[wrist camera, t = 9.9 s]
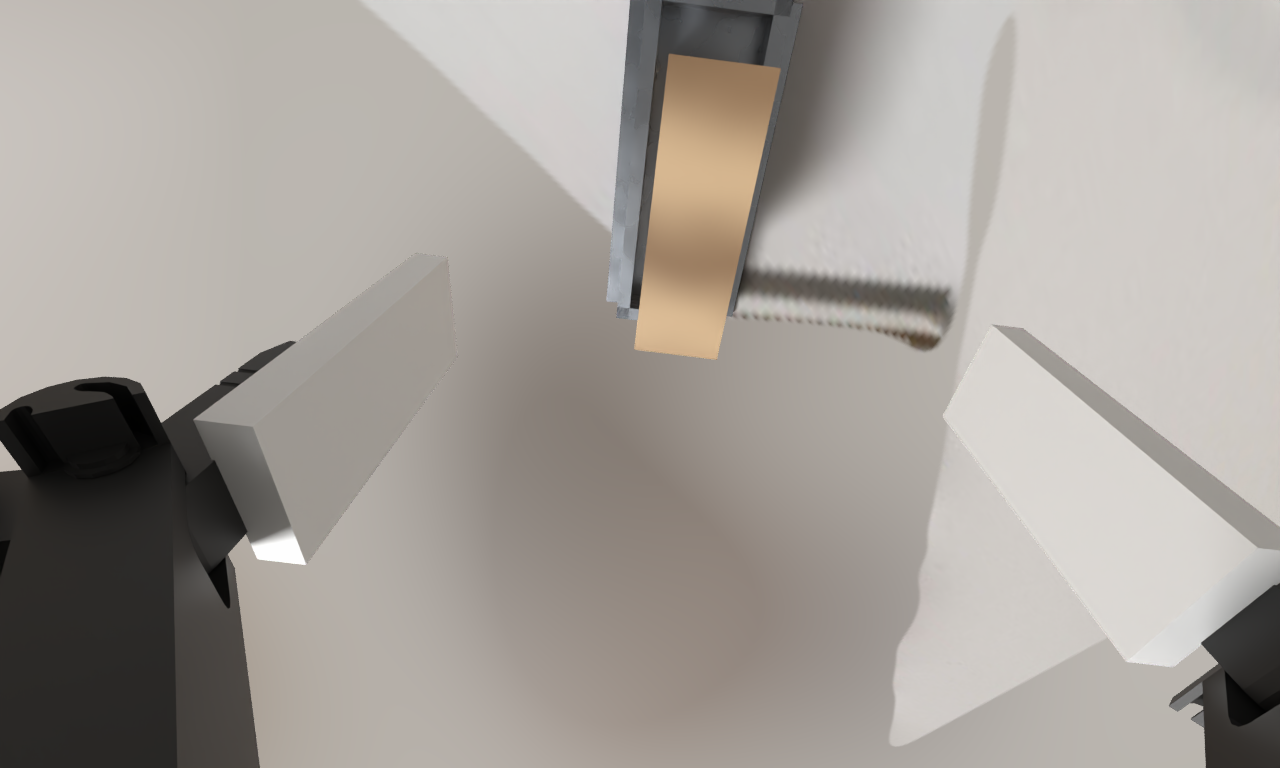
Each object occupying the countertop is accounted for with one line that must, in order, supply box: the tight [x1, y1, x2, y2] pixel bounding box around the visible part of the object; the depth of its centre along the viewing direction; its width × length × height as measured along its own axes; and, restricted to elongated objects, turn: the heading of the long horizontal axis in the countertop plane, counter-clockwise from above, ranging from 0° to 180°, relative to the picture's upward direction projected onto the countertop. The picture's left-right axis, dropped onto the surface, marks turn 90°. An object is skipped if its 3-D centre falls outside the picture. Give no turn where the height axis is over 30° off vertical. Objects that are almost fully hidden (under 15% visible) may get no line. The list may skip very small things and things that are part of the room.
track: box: [607, 0, 803, 320], centre depth 30 cm, size 18×9×3 cm, turn 174°
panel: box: [635, 54, 781, 360], centre depth 26 cm, size 12×4×12 cm, turn 174°
